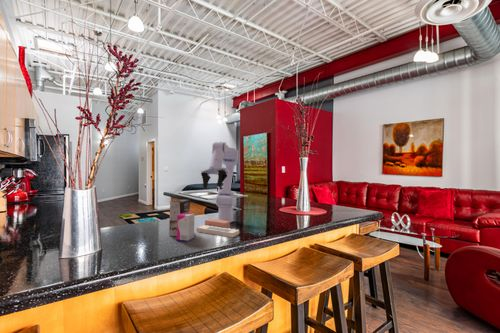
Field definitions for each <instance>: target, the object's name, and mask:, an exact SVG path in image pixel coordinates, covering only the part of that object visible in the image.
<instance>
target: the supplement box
mask: <svg viewBox="0 0 500 333" xmlns="http://www.w3.org/2000/svg"><path fill="white" fill-rule="evenodd" d="M194 239H195V213H191V212H190V213H182V214H179V215H177V236H176V241H177V242H186V243H189V242H190V241H192V240H194Z"/></svg>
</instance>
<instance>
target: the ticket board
mask: <svg viewBox="0 0 500 333" xmlns="http://www.w3.org/2000/svg"><path fill="white" fill-rule="evenodd" d="M196 232H198V233H203V234H208V235H215V236H222V237H227V238H234V237H236V236H238V235H240V229H237V228H231V227H230V228H224V227H217V226H211V225H205V224H203V225H199V226H198V227H196Z"/></svg>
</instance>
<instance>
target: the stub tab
mask: <svg viewBox="0 0 500 333" xmlns="http://www.w3.org/2000/svg"><path fill="white" fill-rule="evenodd" d="M204 225H211V226H217V227H224V228H231V226H230V225H231V222H230V221H225V220H218V219H216V218H207V219H205V220H204Z"/></svg>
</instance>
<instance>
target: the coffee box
mask: <svg viewBox="0 0 500 333" xmlns="http://www.w3.org/2000/svg"><path fill="white" fill-rule="evenodd" d="M190 211H191V200H190V199H182V198H180V199H175V200H170V202H169V225H168V236H170V237H171V236H172V237H177V215H179V214H182V213H191V212H190Z"/></svg>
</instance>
